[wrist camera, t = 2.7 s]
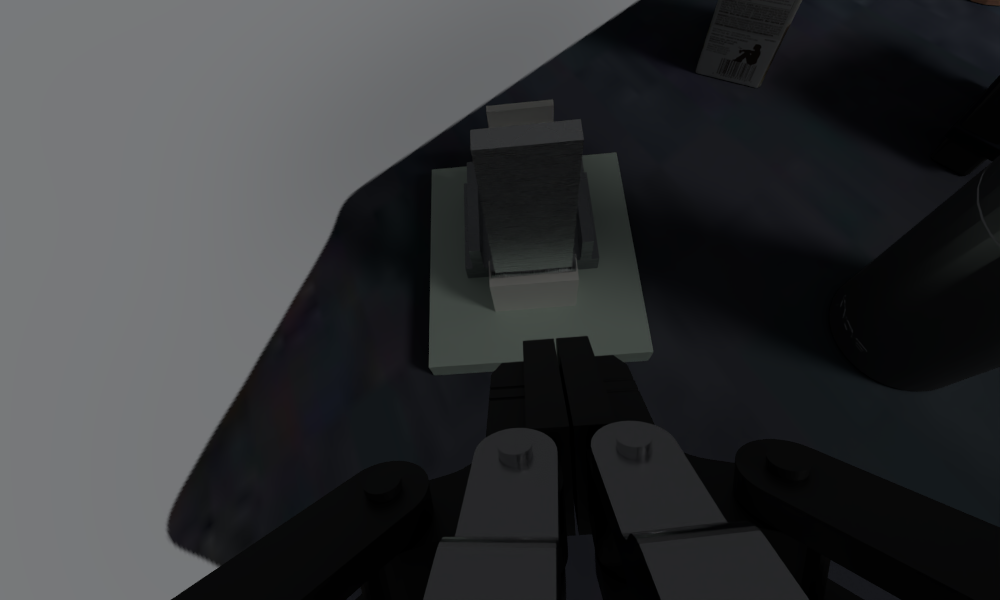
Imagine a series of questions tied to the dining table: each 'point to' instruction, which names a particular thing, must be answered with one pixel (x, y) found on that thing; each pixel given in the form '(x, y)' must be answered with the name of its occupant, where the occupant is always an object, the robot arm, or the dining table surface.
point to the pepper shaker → (988, 2)
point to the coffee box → (745, 39)
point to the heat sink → (478, 237)
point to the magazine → (973, 135)
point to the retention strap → (529, 195)
